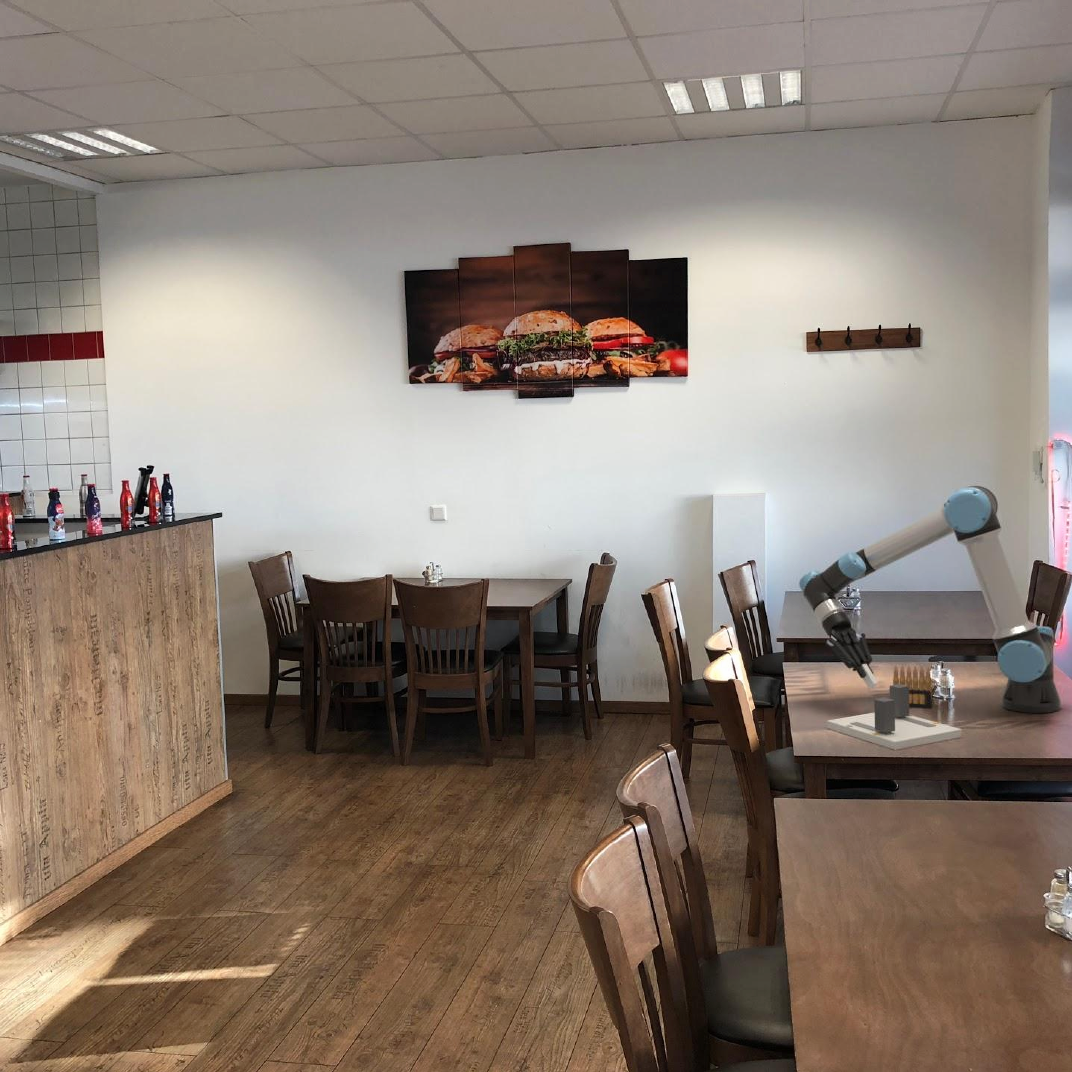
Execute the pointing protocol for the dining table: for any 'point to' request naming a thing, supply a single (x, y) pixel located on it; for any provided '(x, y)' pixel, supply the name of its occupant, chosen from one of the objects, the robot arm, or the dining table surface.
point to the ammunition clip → (916, 686)
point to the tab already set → (884, 715)
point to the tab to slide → (900, 699)
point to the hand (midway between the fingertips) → (873, 686)
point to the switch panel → (904, 736)
